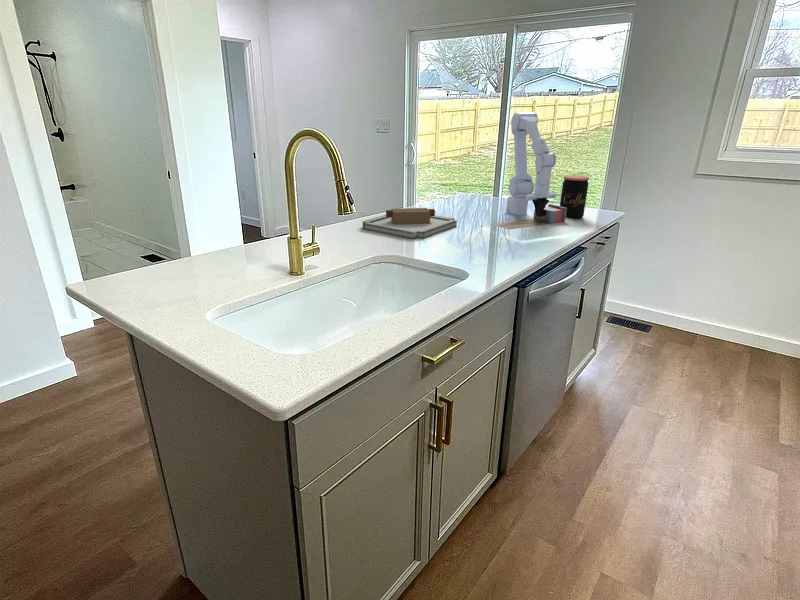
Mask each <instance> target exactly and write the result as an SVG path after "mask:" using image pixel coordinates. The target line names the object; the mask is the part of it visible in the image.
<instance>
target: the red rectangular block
mask: <svg viewBox="0 0 800 600" xmlns="http://www.w3.org/2000/svg"><path fill="white" fill-rule="evenodd" d="M545 208H548V209H552V210H556V211H557V213H556V221H555V223H554V224H557V223H556V222H562V215H563V210H561V209H557V208H553V207H548V206H546V207H545ZM562 223H563V222H562Z"/></svg>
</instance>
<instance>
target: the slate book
mask: <svg viewBox="0 0 800 600" xmlns="http://www.w3.org/2000/svg"><path fill="white" fill-rule="evenodd" d="M544 209H547V210H550V211H551V218H550V223H554V224H556V223H555V221H556V213H557V211H556V210H552V209H548V208H544Z"/></svg>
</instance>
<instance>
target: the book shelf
mask: <svg viewBox="0 0 800 600" xmlns="http://www.w3.org/2000/svg"><path fill="white" fill-rule="evenodd" d="M547 205H548V206H547V207H553V208H557V209H561V210H563V215H562V222H556V223H545V222H542V221H538V220H535V219H533V218H531V219H524V220H517V221H516V220H515V221H508V222H500V223H499V222H498V223H494V225H495V226H496V227H497V226H498V227H501V228H503V229H505V230H506V229H507V230H515V229H520V228H522V229H523V228H531V227H537V226H545V225H546V226H547V225H553V224H554V225H555V224H561V223H566V220H567V219H566V218H567V217H566V212H567V208H565V207H561V206H560V205H557V204H553V203H548V204H547Z"/></svg>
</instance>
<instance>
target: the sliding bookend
mask: <svg viewBox="0 0 800 600" xmlns="http://www.w3.org/2000/svg"><path fill="white" fill-rule="evenodd" d="M533 211H534V212H533V218H532V219H535V220H538V221H542V222H545V223H550V218H551V211H550V210H547V209H544V211H543V213H542V216H541V217H538V216H536V211H535V209H534V210H533Z"/></svg>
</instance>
